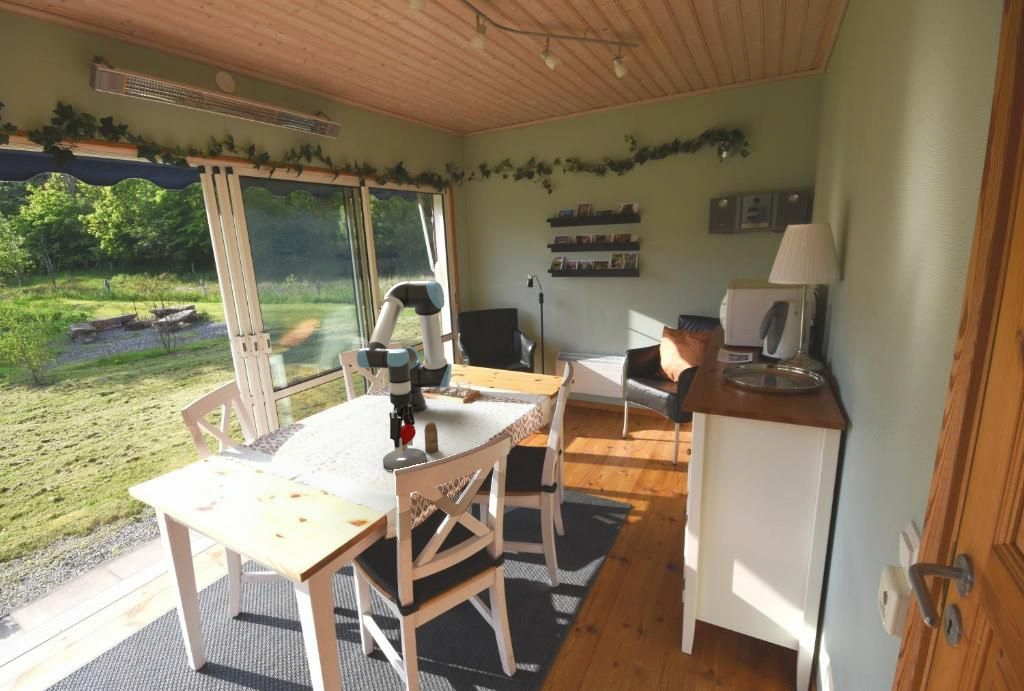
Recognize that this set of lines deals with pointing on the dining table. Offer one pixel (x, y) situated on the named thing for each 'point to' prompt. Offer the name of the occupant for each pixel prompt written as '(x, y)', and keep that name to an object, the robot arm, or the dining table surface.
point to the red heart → (407, 435)
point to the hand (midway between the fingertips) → (404, 449)
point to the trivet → (404, 459)
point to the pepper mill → (431, 438)
